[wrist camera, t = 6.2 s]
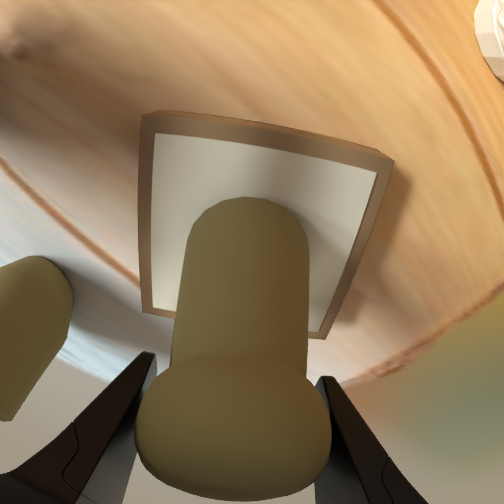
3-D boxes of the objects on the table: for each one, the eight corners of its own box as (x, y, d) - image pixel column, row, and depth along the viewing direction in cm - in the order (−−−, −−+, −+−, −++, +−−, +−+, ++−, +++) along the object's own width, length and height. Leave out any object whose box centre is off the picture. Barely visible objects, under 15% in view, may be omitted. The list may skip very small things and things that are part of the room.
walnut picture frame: (153, 288, 21) (141, 313, 18) (158, 110, 14) (140, 115, 12) (320, 314, 21) (325, 341, 19) (377, 149, 15) (395, 161, 13)
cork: (322, 284, 16) (363, 498, 6) (216, 313, 17) (186, 509, 8) (288, 178, 13) (340, 439, 3) (165, 221, 14) (54, 441, 5)
